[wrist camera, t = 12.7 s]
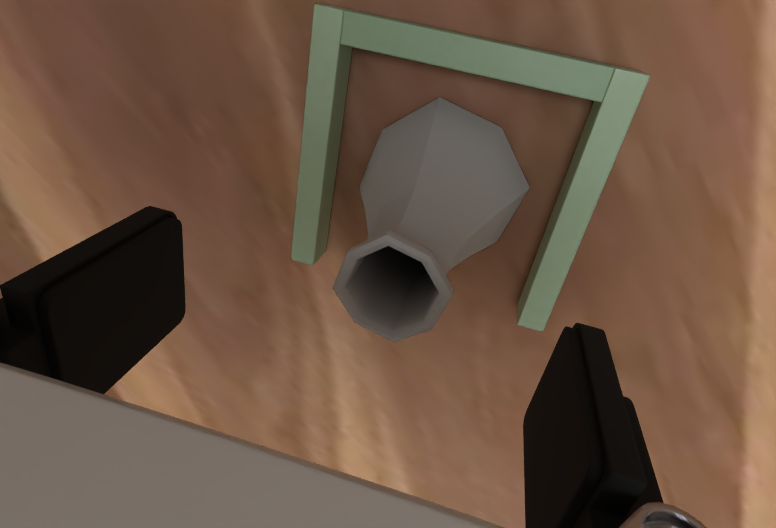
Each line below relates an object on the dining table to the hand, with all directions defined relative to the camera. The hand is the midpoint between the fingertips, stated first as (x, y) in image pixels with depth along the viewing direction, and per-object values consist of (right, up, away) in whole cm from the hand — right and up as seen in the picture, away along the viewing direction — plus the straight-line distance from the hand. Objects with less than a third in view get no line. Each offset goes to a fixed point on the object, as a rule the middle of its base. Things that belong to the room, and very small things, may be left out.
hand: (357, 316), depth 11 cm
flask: (+3, +5, +11) cm, 12 cm away
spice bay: (+3, +5, +10) cm, 12 cm away
